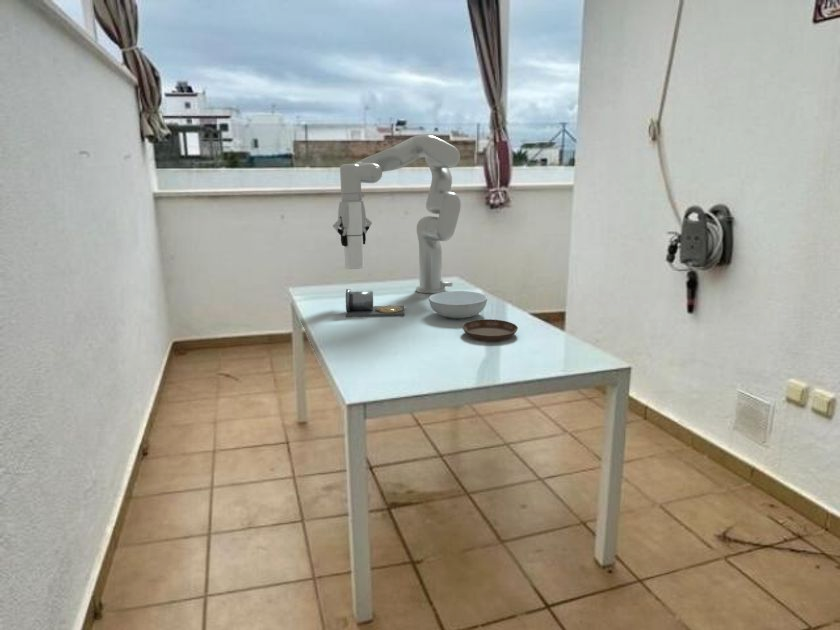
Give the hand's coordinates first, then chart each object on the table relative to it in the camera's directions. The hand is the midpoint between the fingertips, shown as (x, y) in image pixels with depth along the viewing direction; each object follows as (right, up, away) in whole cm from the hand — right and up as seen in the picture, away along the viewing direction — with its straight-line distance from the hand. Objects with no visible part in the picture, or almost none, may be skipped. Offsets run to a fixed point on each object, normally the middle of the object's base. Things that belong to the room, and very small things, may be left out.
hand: (353, 244), depth 226 cm
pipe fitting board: (+9, -26, -7) cm, 28 cm away
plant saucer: (+48, -34, -36) cm, 69 cm away
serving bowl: (+39, -27, -12) cm, 49 cm away
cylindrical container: (0, -9, +2) cm, 9 cm away
